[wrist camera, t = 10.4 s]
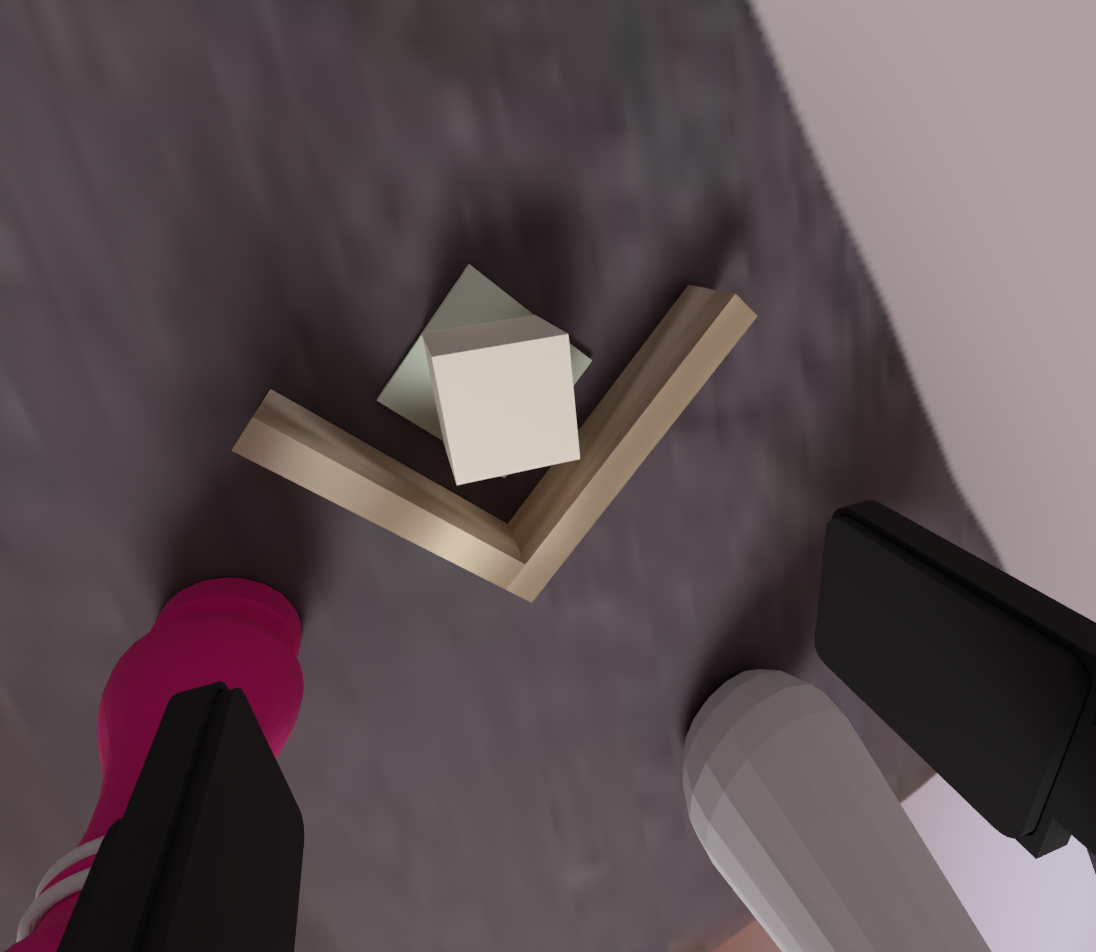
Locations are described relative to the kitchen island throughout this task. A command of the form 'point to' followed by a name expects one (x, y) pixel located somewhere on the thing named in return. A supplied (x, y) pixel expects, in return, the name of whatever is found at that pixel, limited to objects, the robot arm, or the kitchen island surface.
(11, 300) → the kitchen island surface
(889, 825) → the soap bottle
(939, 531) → the kitchen island surface
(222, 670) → the pepper mill
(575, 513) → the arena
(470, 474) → the cube
